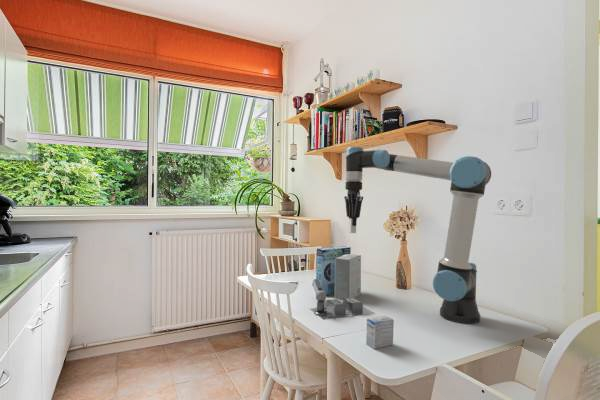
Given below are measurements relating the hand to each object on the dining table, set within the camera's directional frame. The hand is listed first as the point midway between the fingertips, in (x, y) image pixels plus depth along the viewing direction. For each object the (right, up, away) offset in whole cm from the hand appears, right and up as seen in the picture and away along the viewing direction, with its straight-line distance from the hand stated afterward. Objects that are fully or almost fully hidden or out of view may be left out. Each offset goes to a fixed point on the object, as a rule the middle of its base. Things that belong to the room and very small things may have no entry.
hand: (352, 232), depth 160 cm
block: (-2, -32, -11) cm, 34 cm away
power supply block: (-9, -32, -14) cm, 36 cm away
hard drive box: (-1, -33, +11) cm, 34 cm away
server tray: (-6, -32, -13) cm, 35 cm away
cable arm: (-16, -26, -6) cm, 31 cm away
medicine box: (+2, -33, -45) cm, 56 cm away
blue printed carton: (-7, -32, +19) cm, 38 cm away
